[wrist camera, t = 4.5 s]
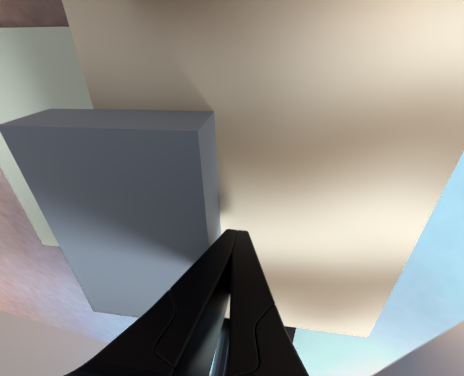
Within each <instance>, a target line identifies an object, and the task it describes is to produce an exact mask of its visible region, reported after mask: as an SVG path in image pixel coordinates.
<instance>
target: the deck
mask: <svg viewBox="0 0 464 376" xmlns="http://www.w3.org/2000/svg"><path fill="white" fill-rule="evenodd" d="M62 3H63V6H64V10H65V13H66V17H67V20H68V24H69V27H70V30H71V34H72V37H73V41H74V44H75V47H76V51H77V54H78V58H79V61H80V65H81V68H82V71H83V75H84V78H85V82H86V85H87V88H88V92H89V95H90V99H91V102H92V106H93V109H107V110H165V111H214V117H215V135H216V152H217V170H218V188H219V206H220V224H221V234H222V233H223V232H224V231H225V230H226V229H235V230H237V231H238V230H245V231H248V232H249V235H250V237H251V240H252V243H253V245H254V248H255V251H256V253H257V256H258V259H259V261H260V264H261V267H262V269H263V272H264V275H265V277H266V280H267V283H268V285H269V288H270V291H271V293H272V296H273V299H274V301H275V305H276V306H277V309H278V312H279V314H280V317H281V319H282V322H283V324H284V326H288V327H295V328H302V329H309V330H316V331H323V332H330V333H337V334H345V335H352V336H359V337H366V338H368V337H369V335H370V333H371V331H372V329H373V327H374V325H375V323H376V321H377V319H378V317H379V315H380V313H381V311H382V309H383V307H384V305H385V303H386V301H387V299H388V298H389V296H390V294H391V292H392V290H393V288H394V286H395V284H396V282H397V280H398V278H399V276H400V274H401V272H402V270H403V268H404V266H405V264H406V262H407V260H408V258H409V257H410V255H411V253H412V251H413V249H414V247H415V245H416V243H417V241H418V239H419V237H420V235H421V233H422V231H423V229H424V227H425V225H426V223H427V221H428V219H429V217H430V215H431V214H432V212H433V210H434V208H435V206H436V204H437V202H438V200H439V198H440V196H441V194H442V192H443V190H444V188H445V186H446V184H447V182H448V180H449V178H450V176H451V174H452V172H453V171H454V169H455V167H456V165H457V163H458V161H459V159H460V157H461V155H462V153H463V151H464V0H62ZM224 318H230V298H229V302H228V305H227V309H226V313H225V317H224Z"/></svg>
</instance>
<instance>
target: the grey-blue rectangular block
mask: <svg viewBox="0 0 464 376" xmlns="http://www.w3.org/2000/svg"><path fill="white" fill-rule="evenodd" d="M0 132H1V134H2V136H3V138H4V140H5V142H6V144H7V146H8V148H9V150H10V152H11V154H12V156H13V157H14V159H15V161H16V163H17V165H18V167H19V169H20V171H21V173H22V175H23V177H24V179H25V181H26V183H27V184H28V186H29V188H30V190H31V192H32V194H33V196H34V198H35V200H36V202H37V204H38V206H39V208H40V210H41V211H42V213H43V215H44V217H45V219H46V221H47V223H48V225H49V227H50V229H51V231H52V233H53V235H54V237H55V238H56V240H57V242H58V244H59V246H60V248H61V250H62V252H63V254H64V256H65V258H66V260H67V262H68V264H69V265H70V267H71V269H72V271H73V273H74V275H75V277H76V279H77V281H78V283H79V285H80V287H81V289H82V291H83V292H84V294H85V296H86V298H87V300H88V302H89V304H90V306H91V308H92V310H93V311H95V312H102V313H109V314H117V315H124V316H131V317H138V318H140V317H141V316H142V315H143V314H144V313H145V312H147V311H148V310H149V309H150V308H151V307H152V306H153V305H154V304H155V303H156V302H157V301H158V300H159V299H160V298H161V297H162V296H163V295H164V294H165V293H166V292H167V291H168V290H170V288H171V287H172V286H173V285H174V283H175V282H176V281H177V280H178V279H179V278H180V277H181V276H182V275H183V274H184V273H185V272H186V271H187V270H188V269H189V268H190V267H191V266H192V265H193V264H194V263H195V262H196V261H197V260H198V258H199V257H200V256H201V255H202V254H203V253H204V252H205V251H206V250H207V249H208V248H209V247H210V246H211V245H212V244H213V243H214V242H215V241H216V240H217V239H218V238H219V237H220V236H221V224H220V206H219V188H218V170H217V152H216V135H215V117H214V111H165V110H107V109H47V110H44V111H40V112H37V113H34V114H31V115H28V116H25V117H21V118H18V119H15V120H12V121H9V122H5V123H2V124H0Z"/></svg>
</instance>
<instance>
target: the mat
mask: <svg viewBox="0 0 464 376" xmlns="http://www.w3.org/2000/svg"><path fill="white" fill-rule="evenodd" d="M47 109H93V106H92V102H91V99H90V95H89V92H88V88H87V85H86V82H85V78H84V75H83V71H82V68H81V65H80V61H79V58H78V54H77V51H76V47H75V44H74V41H73V37H72V34H71V30H70V27H15V28H0V124H2V123H5V122H9V121H12V120H15V119H18V118H21V117H25V116H28V115H31V114H34V113H37V112H40V111H44V110H47ZM0 168H1V169H2V171H3V173H4V175H5V177H6V179H7V180H8V182H9V184H10V186H11V188H12V189H13V191H14V193H15V195H16V197H17V199H18V200H19V202H20V204H21V206H22V208H23V209H24V211H25V213H26V215H27V217H28V218H29V220H30V222H31V224H32V226H33V228H34V229H35V231H36V233H37V235H38V237H39V238H40V240H41V242H42V244H43V245H48V246H57V247H60V246H59V244H58V242H57V240H56V238H55V237H54V235H53V233H52V231H51V229H50V227H49V225H48V223H47V221H46V219H45V217H44V215H43V213H42V211H41V210H40V208H39V206H38V204H37V202H36V200H35V198H34V196H33V194H32V192H31V190H30V188H29V186H28V184H27V183H26V181H25V179H24V177H23V175H22V173H21V171H20V169H19V167H18V165H17V163H16V161H15V159H14V157H13V156H12V154H11V152H10V150H9V148H8V146H7V144H6V142H5V140H4V138H3V136H2V134H1V132H0Z"/></svg>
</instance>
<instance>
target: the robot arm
mask: <svg viewBox="0 0 464 376" xmlns="http://www.w3.org/2000/svg"><path fill="white" fill-rule="evenodd" d="M229 298H230V318H224V317H225V313H226V309H227V305H228V302H229ZM295 330H296V328H295V327H288V326H284V324H283V322H282V319H281V317H280V314H279V312H278V309H277V306H276V305H275V301H274V299H273V296H272V293H271V291H270V288H269V285H268V283H267V280H266V277H265V275H264V272H263V269H262V267H261V264H260V261H259V259H258V256H257V253H256V251H255V248H254V245H253V243H252V240H251V237H250V235H249V232H248V231H245V230H238V231H237V230H235V229H226V230H225V231H224V232H223V233H222V234H221V236H220V237H219V238H218V239H217V240H216V241H215V242H214V243H213V244H212V245H211V246H210V247H209V248H208V249H207V250H206V251H205V252H204V253H203V254H202V255H201V256H200V257H199V258H198V260H197V261H196V262H195V263H194V264H193V265H192V266H191V267H190V268H189V269H188V270H187V271H186V272H185V273H184V274H183V275H182V276H181V277H180V278H179V279H178V280H177V281H176V282H175V283H174V285H173V286H172V287H171V288H170V290H168V291H167V292H166V293H165V294H164V295H163V296H162V297H161V298H160V299H159V300H158V301H157V302H156V303H155V304H154V305H153V306H152V307H151V308H150V309H149V310H148V311H147V312H145V313H144V314H143V315H142V316H141V317H140V318H139V319H138V320H136V321H135V322H134V323H133V324H132V325H131V326H130V327H128V328H127V329H126V330H125V331H124V332H122V333H121V334H120V335H119V336H118V337H117V338H115V339H114V340H113V341H112V342H111V343H110V344H108V345H107V346H106V347H105V348H104V349H102V350H101V351H100V352H99V353H98V354H97V355H96V356H94V357H93V358H92V359H90V360H89V361H88V362H86V363H85V364H84V365H82V366H81V367H79V368H77V369H76V370H74V371H72V372H70V373H68V374H66V375H64V376H209V372H210V369H211V365H212V361H213V358H214V354H215V358H214V364H213V369H212V374H211V376H309V375H308V373H307V371H306V369H305V367H304V365H303V363H302V361H301V359H300V357H299V356H298V354H297V352H296V350H295V348H294V346H293V344H292V343H293V339H294V334H295ZM215 350H216V353H215Z"/></svg>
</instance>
